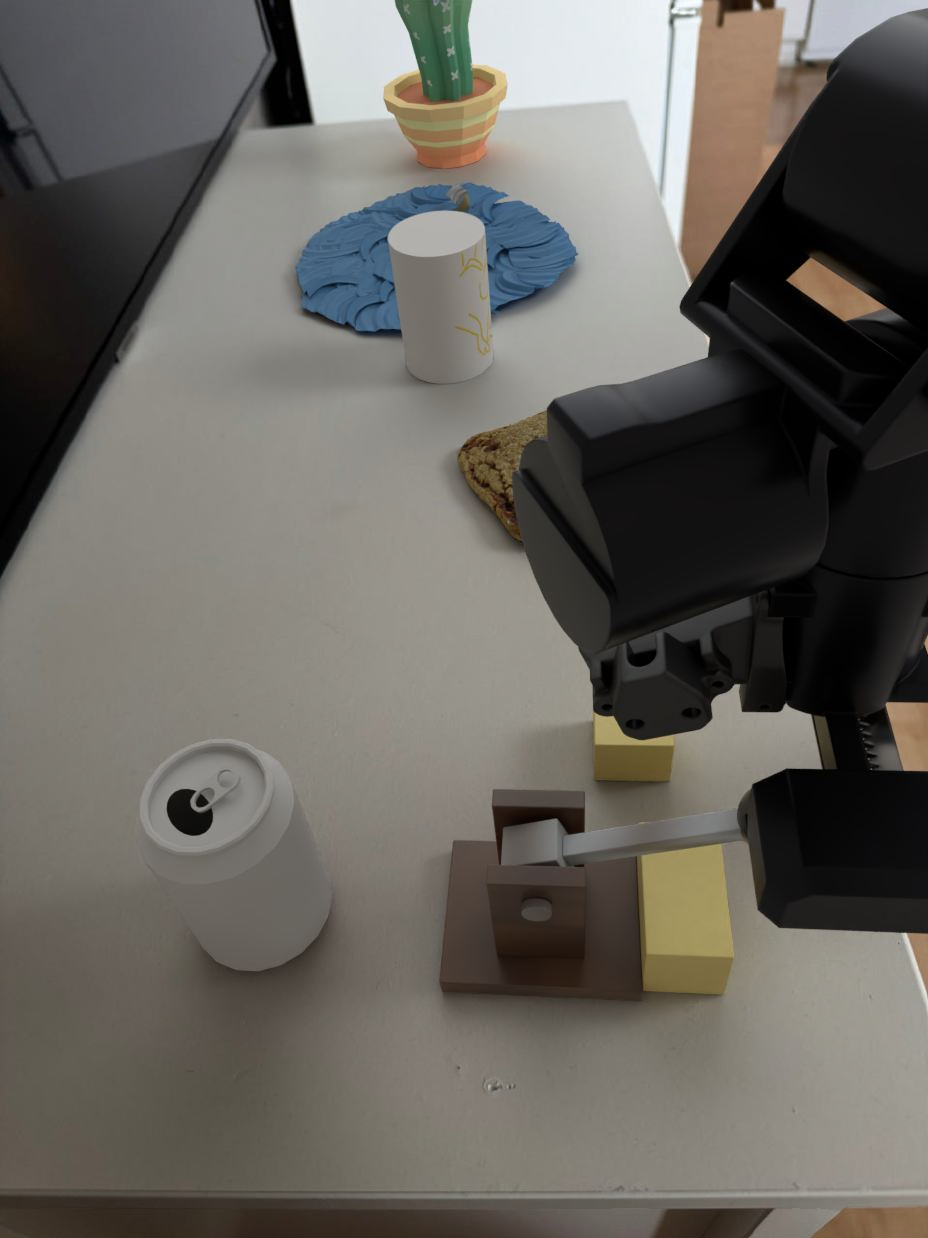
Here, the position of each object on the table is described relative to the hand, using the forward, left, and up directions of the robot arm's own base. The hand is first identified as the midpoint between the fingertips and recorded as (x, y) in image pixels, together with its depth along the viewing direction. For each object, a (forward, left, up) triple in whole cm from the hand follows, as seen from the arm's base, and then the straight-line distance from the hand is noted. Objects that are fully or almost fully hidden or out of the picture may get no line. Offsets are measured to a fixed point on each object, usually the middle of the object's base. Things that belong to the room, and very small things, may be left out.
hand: (781, 795), depth 40 cm
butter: (+3, 0, -12) cm, 13 cm away
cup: (+20, -55, -13) cm, 59 cm away
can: (+25, 0, -13) cm, 28 cm away
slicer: (+10, 0, -12) cm, 16 cm away
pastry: (+10, -37, -13) cm, 40 cm away
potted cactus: (+24, -102, -13) cm, 106 cm away
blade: (+5, 0, -5) cm, 7 cm away
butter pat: (+5, -11, -12) cm, 17 cm away
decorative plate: (+23, -73, -13) cm, 78 cm away
